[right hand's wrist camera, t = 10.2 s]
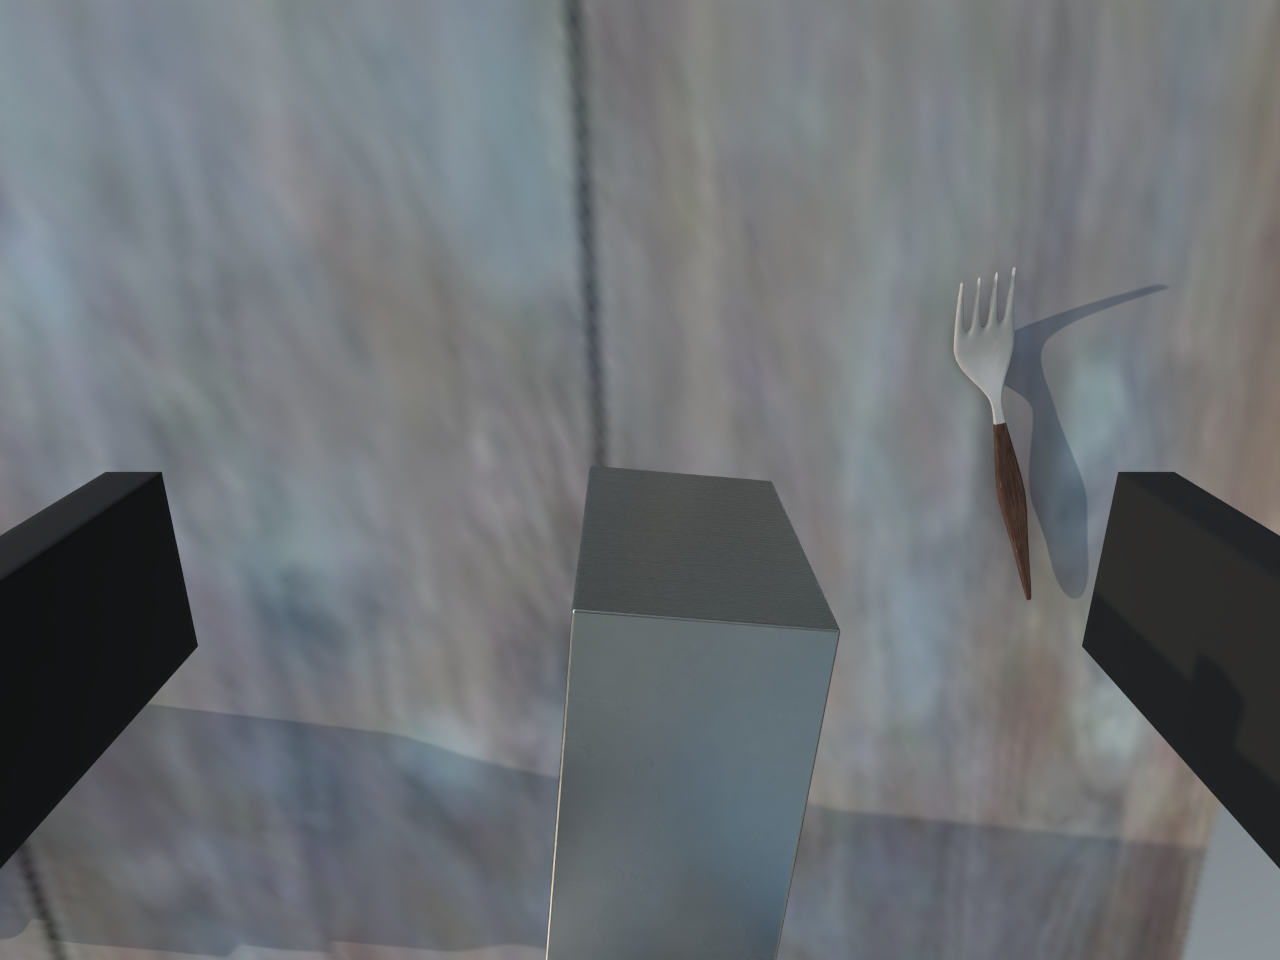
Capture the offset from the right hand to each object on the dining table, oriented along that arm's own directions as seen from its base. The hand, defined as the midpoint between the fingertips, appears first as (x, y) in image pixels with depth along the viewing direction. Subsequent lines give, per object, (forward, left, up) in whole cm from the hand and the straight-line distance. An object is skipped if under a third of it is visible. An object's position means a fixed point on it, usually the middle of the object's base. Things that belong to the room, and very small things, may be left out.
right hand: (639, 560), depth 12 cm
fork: (-11, +14, -26) cm, 32 cm away
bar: (+8, +14, -14) cm, 22 cm away
